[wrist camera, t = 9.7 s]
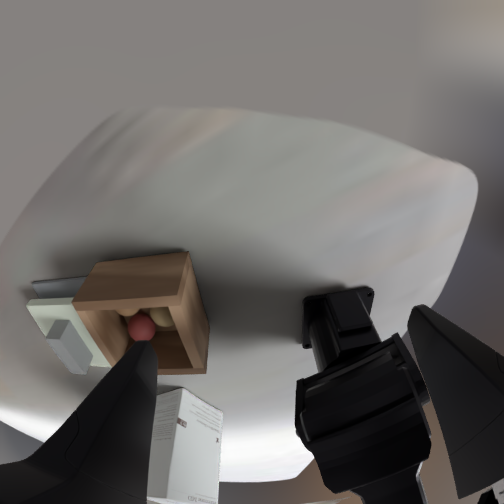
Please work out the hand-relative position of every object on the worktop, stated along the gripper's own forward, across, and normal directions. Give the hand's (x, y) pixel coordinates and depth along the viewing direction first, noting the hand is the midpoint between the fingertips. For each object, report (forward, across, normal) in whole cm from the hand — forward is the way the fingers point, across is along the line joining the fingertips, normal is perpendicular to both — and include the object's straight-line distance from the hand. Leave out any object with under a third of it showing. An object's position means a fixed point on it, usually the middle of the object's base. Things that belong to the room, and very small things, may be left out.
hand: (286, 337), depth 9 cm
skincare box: (+12, +12, +26) cm, 31 cm away
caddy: (+12, +10, +7) cm, 17 cm away
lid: (+11, +19, +10) cm, 24 cm away
